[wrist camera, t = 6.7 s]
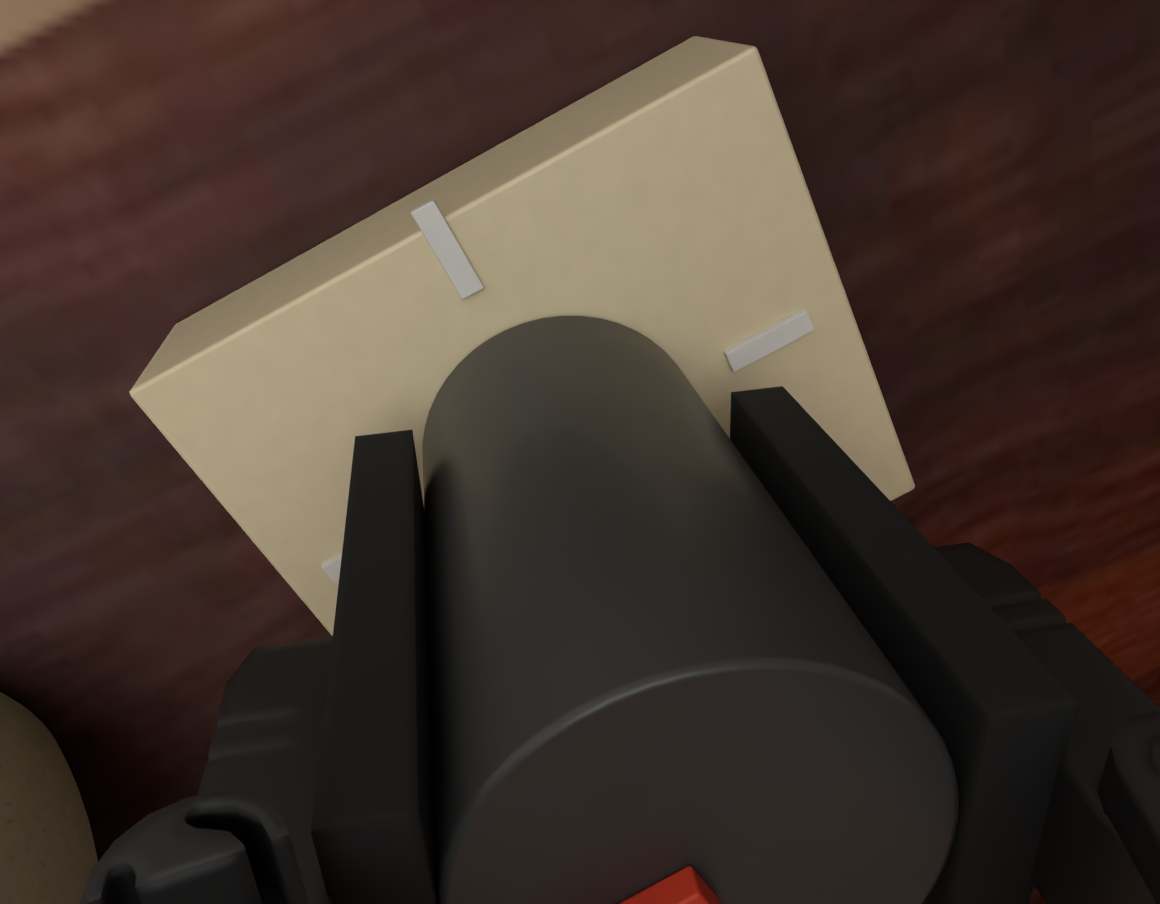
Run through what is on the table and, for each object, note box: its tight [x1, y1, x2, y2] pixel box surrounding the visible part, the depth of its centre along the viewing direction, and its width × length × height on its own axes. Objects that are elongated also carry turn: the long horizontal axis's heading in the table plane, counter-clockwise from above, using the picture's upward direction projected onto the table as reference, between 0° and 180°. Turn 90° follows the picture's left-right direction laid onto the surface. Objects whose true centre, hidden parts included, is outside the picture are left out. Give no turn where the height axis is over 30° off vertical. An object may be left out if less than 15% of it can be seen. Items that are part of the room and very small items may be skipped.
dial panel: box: [130, 36, 915, 636], centre depth 16 cm, size 10×9×3 cm
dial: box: [422, 316, 959, 904], centre depth 11 cm, size 4×4×8 cm
